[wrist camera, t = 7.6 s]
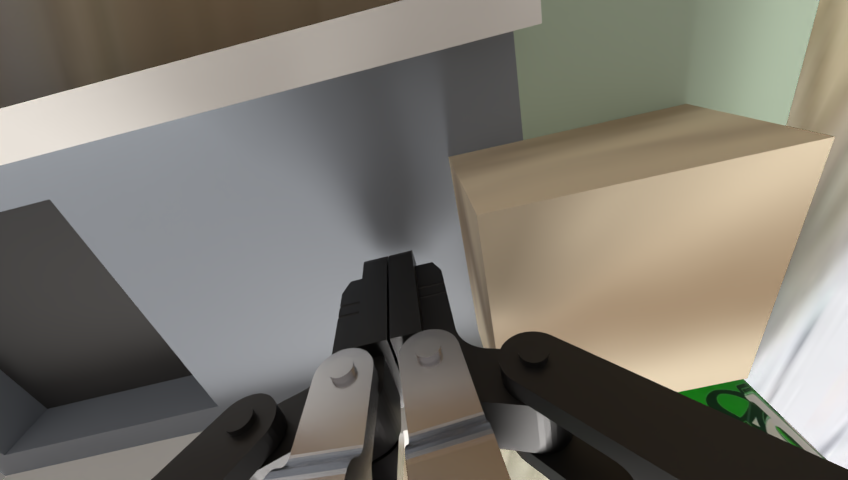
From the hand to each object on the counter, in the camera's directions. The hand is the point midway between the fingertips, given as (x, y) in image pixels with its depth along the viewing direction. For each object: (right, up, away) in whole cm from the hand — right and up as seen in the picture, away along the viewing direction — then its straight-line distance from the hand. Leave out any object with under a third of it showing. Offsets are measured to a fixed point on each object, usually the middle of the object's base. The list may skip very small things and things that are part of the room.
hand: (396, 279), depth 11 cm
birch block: (+6, +1, +1) cm, 6 cm away
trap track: (-4, +1, +3) cm, 5 cm away
